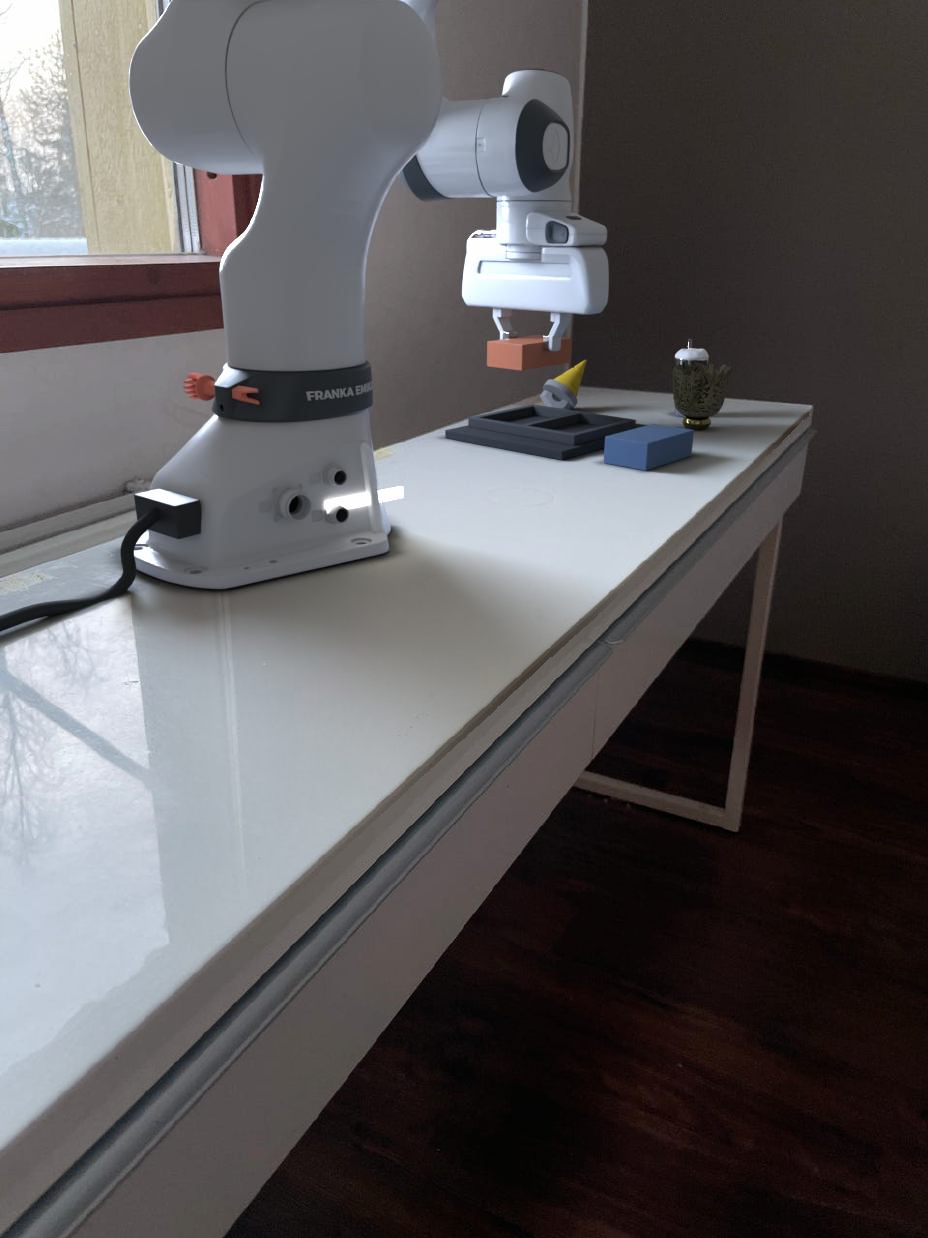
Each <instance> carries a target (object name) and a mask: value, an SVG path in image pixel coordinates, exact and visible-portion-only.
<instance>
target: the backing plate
mask: <svg viewBox="0 0 928 1238" xmlns="http://www.w3.org/2000/svg"><path fill="white" fill-rule="evenodd" d="M467 420H468V421H467V425H461V426H459V427H454V428H448V429H445V430H444V434H445V435H444V439H448V440H454V441H460V442H464V443H470V444H476V445H480V446H486V447H491V448H495V449H501V450H505V451H506V450H507V451H511V452H512V451H513V452H518V453H523V454H529V455H533V456H539V457H543V458H550V459H554V460H560V461H564V460H567V459H570V458H575V457H577V456H581V455H585V454H589V453H591V452H595V451H599V450H602V449H605V437H606V436H609V435H613V434H617V433H621V432H624V431H628V430H632V429H636V428H639V427H643V426H647V425H648V424H643V423H638V422H637V419H635V418H634V419H633V418H628V417H621V416H613V415H607V414H601V413H594V412H586V411H580V410H573V409H572V410H567V409H561V408H554V407H547V406H546V405H541V404H535V403H534V404H533V403H532V404H527V405H523V406H517V407H513V408H508V409H503V410H498V411H493V412H489V413H484V414H479V415H473V416H470V417H468V418H467Z"/></svg>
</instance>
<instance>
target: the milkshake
mask: <svg viewBox="0 0 928 1238" xmlns="http://www.w3.org/2000/svg"><path fill="white" fill-rule="evenodd" d="M687 341H688V343H687V344H688V345H687V348H680V349H679V350H678V351H677V352H676V353H675V355H674V365H675V364H676V365H677V366H678V364H681V365H682V366H683V369H684V368H685V364H686V363H687V364H689V365H690V368H691V367H693V366H694V365H695V364H696V363H697V362H699V363H701V364H703V365H705V366H707V365H708V364H709V357H710V356H709V354H708V353H709V352H708V351H707V350H706V349H705V348H695V347H694V348H692V347H693V339H692V338H688V340H687ZM674 415H675V416H676V417H677V416H678V417H683V418H684V417H685V416H684V415H682V414H681V413H679V412H678V410H677V409H676V407H675V406H674Z"/></svg>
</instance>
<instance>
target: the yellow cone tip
mask: <svg viewBox="0 0 928 1238" xmlns="http://www.w3.org/2000/svg"><path fill="white" fill-rule="evenodd" d="M587 360H588V359H584V360H582V361H581V362H579V363H577V364H576V365H574V367H571V368H570V369H568V370H566V371H565V372H563V373H562V374H560V375H558V376H557V377H555V378H554V379H551V378H550V379H547V380H546V382H545V383H544V384H543V386H542V392H541V393H540V395H539V398H540V399H541V400H542V402H543V403H544V406H547V407H554V408H561V409H567V410H573V409H574V408H575V407H576V406H577V405H578V398H577V397H578V393H579V390H580V386H581V382H582V380H583V376H584V373H585V369H586V364H587Z"/></svg>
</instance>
